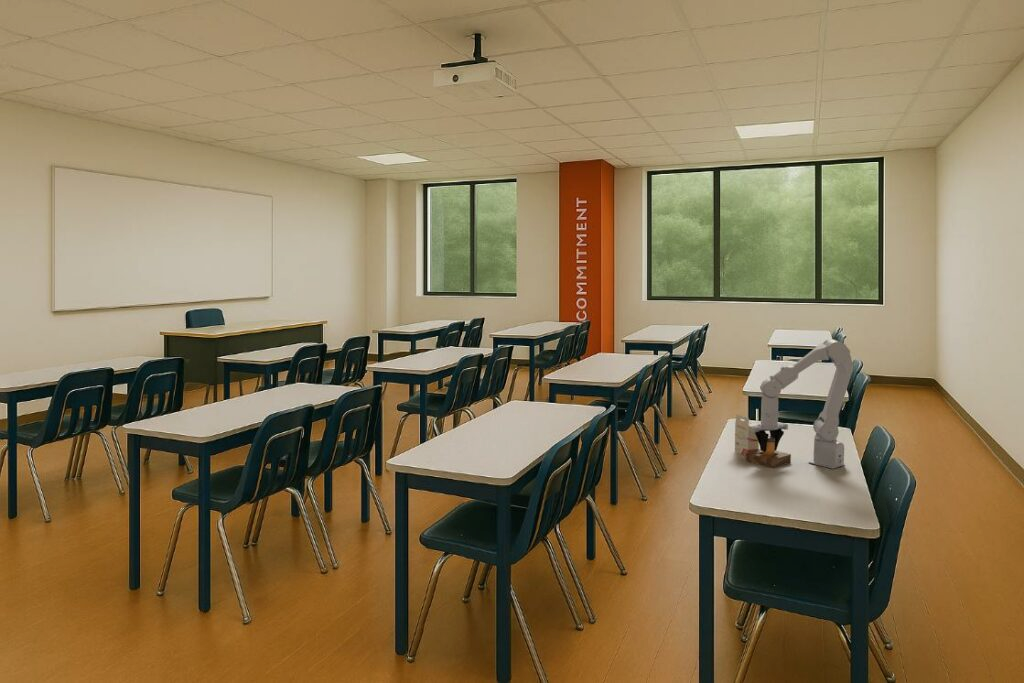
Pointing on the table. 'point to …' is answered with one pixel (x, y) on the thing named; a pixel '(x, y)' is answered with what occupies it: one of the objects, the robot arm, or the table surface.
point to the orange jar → (770, 447)
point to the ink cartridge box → (744, 436)
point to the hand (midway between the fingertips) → (768, 450)
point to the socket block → (768, 458)
